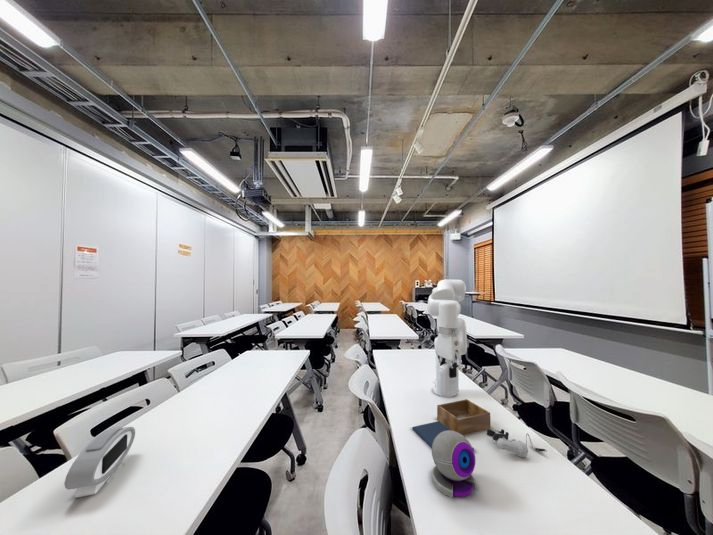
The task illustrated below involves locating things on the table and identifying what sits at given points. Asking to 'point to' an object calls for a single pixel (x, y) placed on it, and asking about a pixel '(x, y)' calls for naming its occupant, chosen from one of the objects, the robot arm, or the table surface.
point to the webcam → (453, 464)
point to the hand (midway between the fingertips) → (448, 374)
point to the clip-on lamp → (510, 442)
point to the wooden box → (464, 425)
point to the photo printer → (447, 381)
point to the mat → (430, 431)
